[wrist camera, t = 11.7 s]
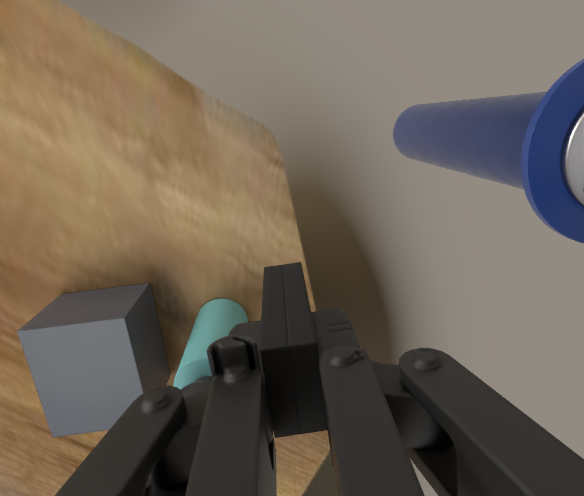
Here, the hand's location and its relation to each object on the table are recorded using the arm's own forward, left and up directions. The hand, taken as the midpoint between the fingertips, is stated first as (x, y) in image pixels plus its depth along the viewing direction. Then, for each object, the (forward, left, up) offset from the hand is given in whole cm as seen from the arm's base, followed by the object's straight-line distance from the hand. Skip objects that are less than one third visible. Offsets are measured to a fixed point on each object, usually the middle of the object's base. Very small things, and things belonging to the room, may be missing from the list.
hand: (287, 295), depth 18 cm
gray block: (+20, +15, -30) cm, 39 cm away
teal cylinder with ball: (+12, +15, -30) cm, 35 cm away
